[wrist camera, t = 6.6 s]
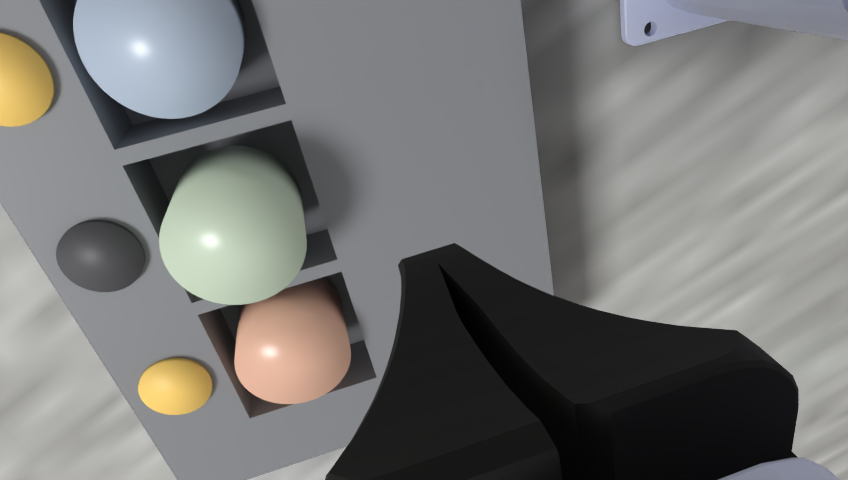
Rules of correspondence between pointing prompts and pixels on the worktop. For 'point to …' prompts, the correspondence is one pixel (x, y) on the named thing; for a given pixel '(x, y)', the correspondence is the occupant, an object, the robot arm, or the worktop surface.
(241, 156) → the button sage
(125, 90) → the button slate
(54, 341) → the worktop surface
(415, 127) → the console
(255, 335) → the button terracotta
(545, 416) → the robot arm
